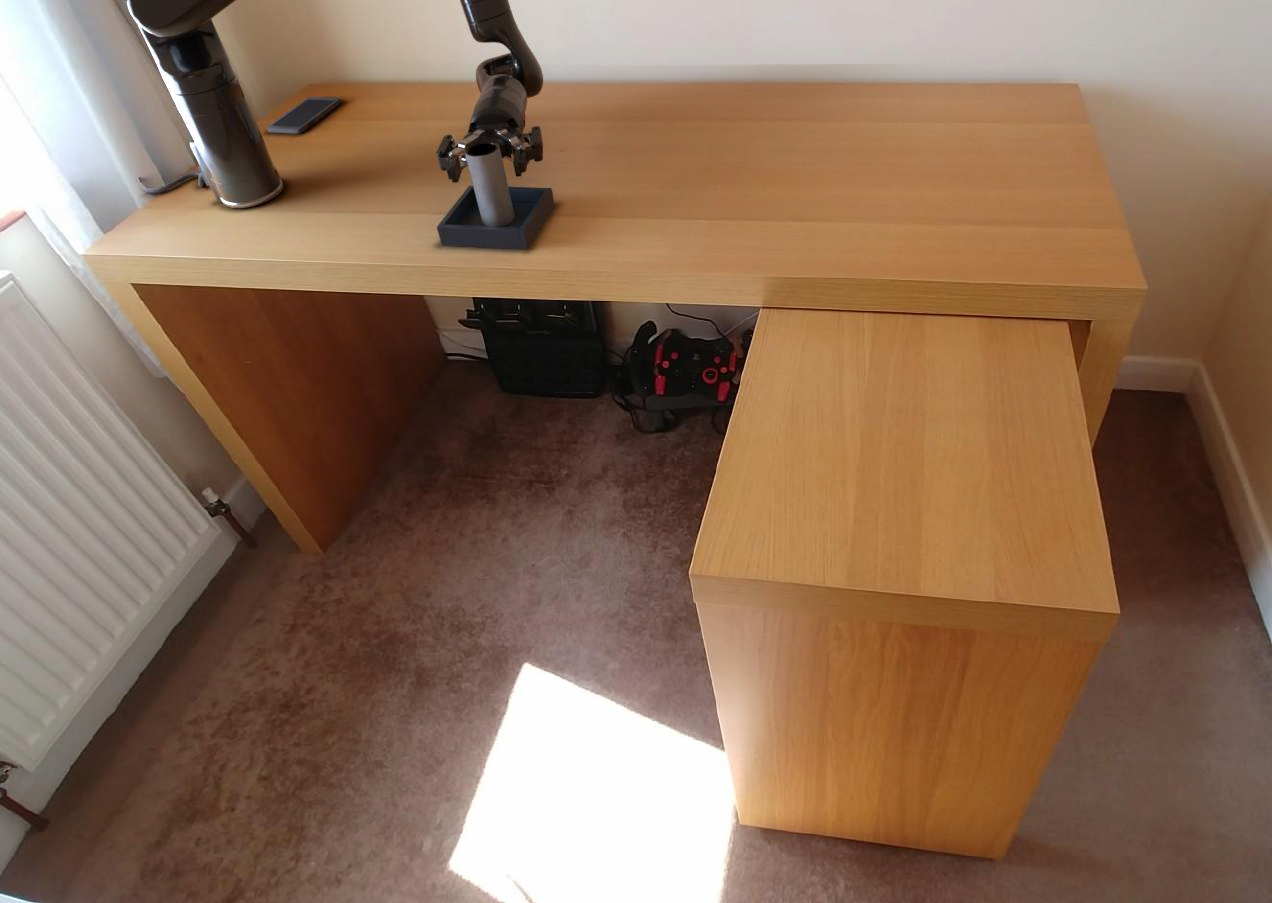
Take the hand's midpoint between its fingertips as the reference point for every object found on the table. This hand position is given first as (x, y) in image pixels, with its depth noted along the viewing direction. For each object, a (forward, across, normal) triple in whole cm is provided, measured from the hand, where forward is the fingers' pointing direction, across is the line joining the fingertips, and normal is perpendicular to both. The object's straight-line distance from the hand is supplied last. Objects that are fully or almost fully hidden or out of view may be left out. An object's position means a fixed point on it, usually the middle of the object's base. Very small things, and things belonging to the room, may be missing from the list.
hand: (485, 173), depth 109 cm
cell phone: (-46, -40, +8) cm, 62 cm away
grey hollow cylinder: (-1, 0, +7) cm, 7 cm away
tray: (-1, 0, +8) cm, 8 cm away
